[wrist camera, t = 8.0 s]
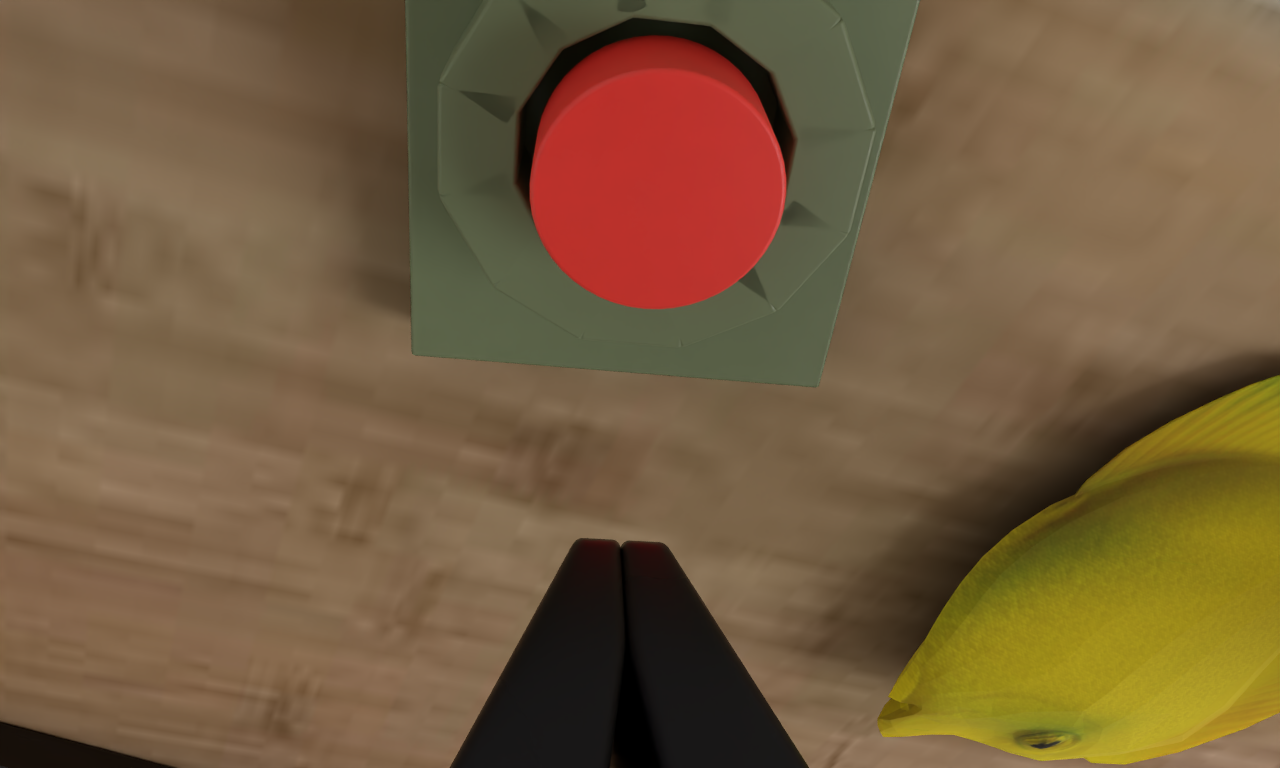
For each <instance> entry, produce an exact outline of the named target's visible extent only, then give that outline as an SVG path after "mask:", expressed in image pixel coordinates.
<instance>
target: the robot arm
mask: <svg viewBox="0 0 1280 768" xmlns="http://www.w3.org/2000/svg"><path fill="white" fill-rule="evenodd" d="M450 768H809V767H808V765H807V764H806V762H805V761H804V759H803V758H802V756H801V754H800V753H799V751H798V750H797V748H796V747H795V745H794V743H793V742H792V740H791V739H790V737H789V736H788V734H787V732H786V731H785V729H784V728H783V726H782V725H781V723H780V721H779V720H778V718H777V717H776V715H775V714H774V712H773V711H772V709H771V707H770V706H769V704H768V703H767V701H766V700H765V698H764V696H763V695H762V693H761V692H760V690H759V689H758V687H757V685H756V684H755V682H754V681H753V679H752V678H751V676H750V674H749V673H748V671H747V670H746V668H745V667H744V665H743V664H742V662H741V660H740V659H739V657H738V656H737V654H736V653H735V651H734V649H733V648H732V646H731V645H730V643H729V642H728V640H727V638H726V637H725V635H724V634H723V632H722V631H721V629H720V627H719V626H718V624H717V623H716V621H715V620H714V618H713V617H712V615H711V613H710V612H709V610H708V609H707V607H706V606H705V604H704V602H703V601H702V599H701V598H700V596H699V595H698V593H697V591H696V590H695V588H694V587H693V585H692V584H691V582H690V580H689V579H688V577H687V576H686V574H685V573H684V571H683V570H682V568H681V566H680V565H679V563H678V562H677V560H676V559H675V557H674V555H673V554H672V552H671V551H670V549H669V548H668V547H667V546H666V545H665V544H663V543H660V542H645V541H626V542H624V543H623V544H622V546H621V548H620V545H619V543H618V542H617V541H615V540H608V539H588V538H580V539H578V540H576V541H575V542H574V543H573V545H572V546H571V548H570V550H569V552H568V554H567V556H566V557H565V559H564V561H563V563H562V565H561V566H560V568H559V570H558V572H557V574H556V576H555V577H554V579H553V581H552V583H551V585H550V586H549V588H548V590H547V592H546V594H545V596H544V597H543V599H542V601H541V603H540V605H539V606H538V608H537V610H536V612H535V614H534V616H533V617H532V619H531V621H530V623H529V625H528V626H527V628H526V630H525V632H524V634H523V636H522V637H521V639H520V641H519V643H518V645H517V646H516V648H515V650H514V652H513V654H512V656H511V657H510V659H509V661H508V663H507V665H506V666H505V668H504V670H503V672H502V674H501V676H500V677H499V679H498V681H497V683H496V685H495V686H494V688H493V690H492V692H491V694H490V696H489V697H488V699H487V701H486V703H485V705H484V707H483V708H482V710H481V712H480V714H479V716H478V717H477V719H476V721H475V723H474V725H473V727H472V728H471V730H470V732H469V734H468V736H467V737H466V739H465V741H464V743H463V745H462V747H461V748H460V750H459V752H458V754H457V756H456V757H455V759H454V761H453V763H452V765H451V767H450Z"/></svg>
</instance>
